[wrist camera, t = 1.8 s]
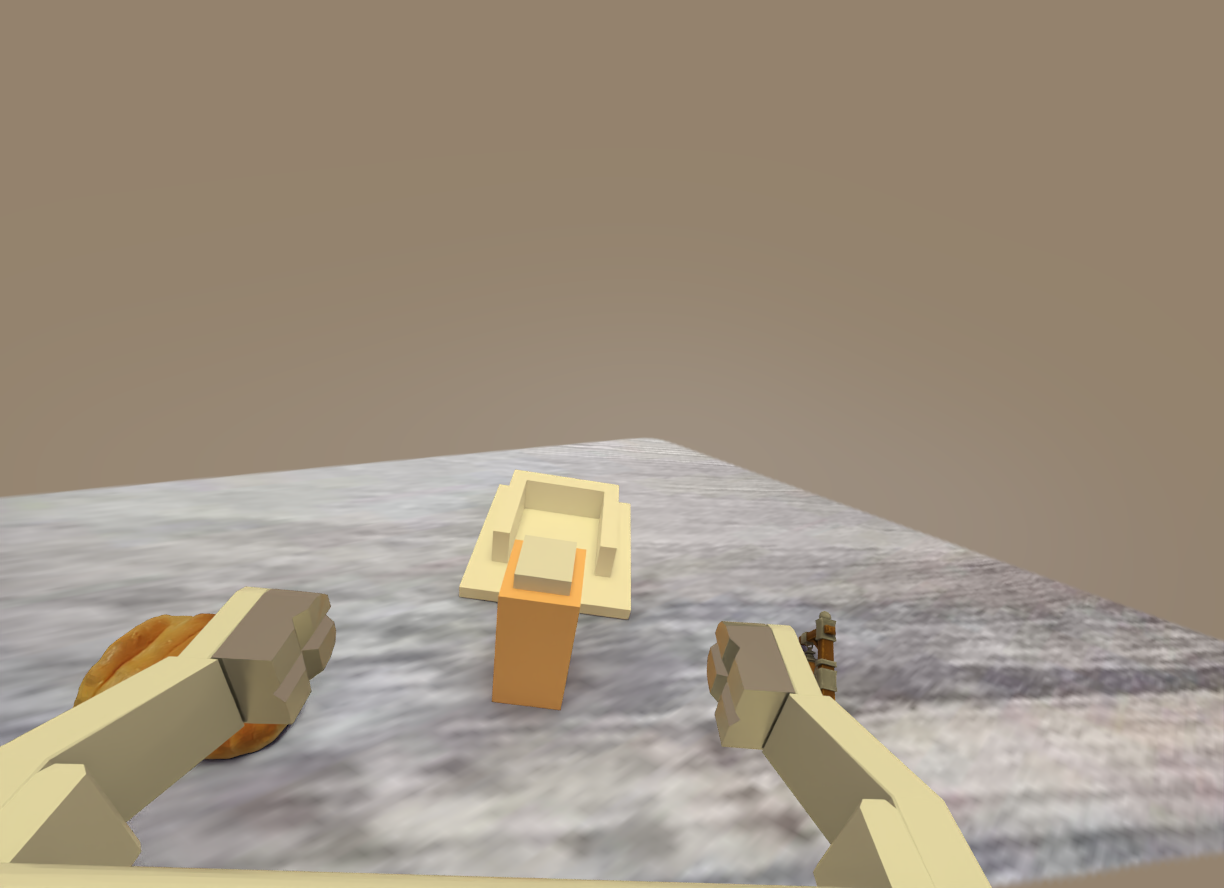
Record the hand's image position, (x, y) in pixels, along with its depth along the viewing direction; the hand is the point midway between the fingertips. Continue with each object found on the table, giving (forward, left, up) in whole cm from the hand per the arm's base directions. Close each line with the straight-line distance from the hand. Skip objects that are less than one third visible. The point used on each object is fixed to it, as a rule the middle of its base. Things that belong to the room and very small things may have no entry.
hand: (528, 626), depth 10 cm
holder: (0, +22, -19) cm, 29 cm away
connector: (0, +11, -19) cm, 22 cm away
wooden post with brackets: (+18, +12, -20) cm, 29 cm away
